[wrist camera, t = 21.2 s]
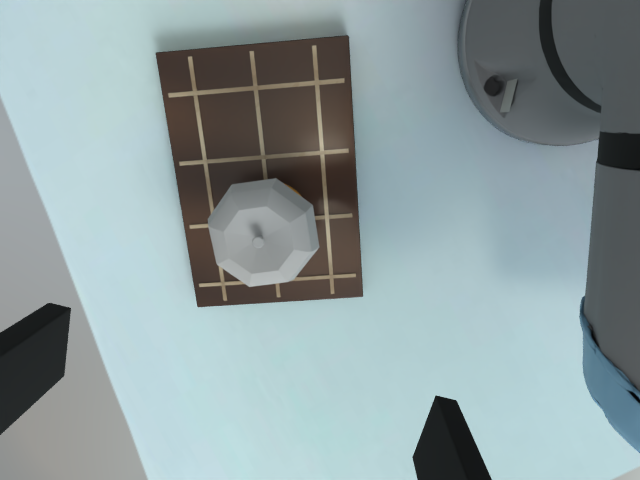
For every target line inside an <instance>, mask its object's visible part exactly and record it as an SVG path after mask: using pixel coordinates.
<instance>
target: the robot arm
mask: <svg viewBox="0 0 640 480" xmlns="http://www.w3.org/2000/svg"><path fill="white" fill-rule="evenodd" d="M458 58H459V65H460V70H461V75H462V79H463V82H464V84H465V87H466V90H467V92H468V94H469V96H470V98H471V100H472V101H473V103H474V105H475V106H476V108H477V109H478V110H479V112H480V113H481V114H482V115H483V116H484V117H485V118H486V119H487V120H488V121H489V122H490V123H491V124H492V125H493V126H495V127H496V128H497V129H499V130H500V131H502V132H504V133H505V134H507V135H509V136H511V137H514V138H516V139H518V140H522V141H525V142H528V143H534V144H542V145H554V146H567V145H576V144H581V143H586V142H590V141H593V140H597V139H599V146H598V158H597V161H596V172H595V184H594V196H593V209H592V221H591V233H590V246H589V258H588V270H587V282H586V293H585V296H584V297H582V300H581V304H580V316H579V317H580V323H581V327H582V331H583V373H584V378H585V382H586V385H587V388H588V390H589V392H590V394H591V396H592V399H593V400H594V401H595V402H596V403H597V405H598V406H599V407H600V408H601V409H602V410H603V411H604V414H605V416H606V418H607V419H608V421H609V423H610V424H611V425H612V427H613V428H614V429H615V430H616V431H617V432H618V433H619V434H620V435H621V436H622V437H623V438H624V439H625V440H626V441H627V442H628V443H629V444H630V445H631V446H632V447H633V448H634V449H636V450H637V451H638V452H639V453H640V0H467V1H466V4H465V7H464V10H463V14H462V18H461V22H460V28H459V36H458ZM70 312H71V308H69V307H64V306H61V305H56V304H52V303H48V304H46V305H45V306H43V307H41V308H40V309H38V310H36V311H35V312H33V313H32V314H30V315H28V316H27V317H25V318H23V319H22V320H21V321H19V322H17V323H15V324H14V325H12V326H11V327H9V328H7V329H6V330H4V331H2V332H1V333H0V435H1V434H2V433H3V432H4V431H5V430H6V429H7V428H8V427H9V426H10V425H11V424H12V423H14V422H15V421H16V420H17V419H18V418H19V417H20V416H21V415H22V414H23V413H24V412H25V411H27V410H28V409H29V408H30V407H31V406H32V405H33V404H34V403H35V402H36V401H38V400H39V399H40V398H41V397H42V396H43V395H44V394H45V393H46V392H47V391H48V390H49V389H50V388H52V387H53V386H54V385H55V384H56V383H57V382H58V381H59V380H60V379H61V378H62V377H63V376H64V373H65V362H66V352H67V343H68V332H69V321H70ZM413 462H414V466H415V470H416V474H417V478H418V480H492V479H491V477H490V475H489V472H488V470H487V468H486V466H485V463H484V461H483V459H482V457H481V454H480V452H479V450H478V448H477V445H476V443H475V441H474V439H473V437H472V434H471V432H470V430H469V428H468V425H467V423H466V421H465V419H464V416H463V414H462V412H461V410H460V407H459V405H458V403H457V401H456V400H453V399H448V398H444V397H440V396H435V399H434V402H433V404H432V407H431V410H430V412H429V415H428V418H427V420H426V423H425V426H424V428H423V431H422V434H421V436H420V439H419V442H418V444H417V447H416V450H415V452H414V455H413Z"/></svg>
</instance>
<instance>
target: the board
mask: <svg viewBox="0 0 640 480" xmlns="http://www.w3.org/2000/svg"><path fill="white" fill-rule="evenodd" d="M156 58H157V64H158V70H159V76H160V82H161V88H162V94H163V100H164V107H165V113H166V119H167V125H168V131H169V137H170V143H171V149H172V155H173V161H174V167H175V173H176V179H177V185H178V191H179V197H180V204H181V210H182V216H183V222H184V228H185V234H186V240H187V246H188V252H189V258H190V264H191V270H192V276H193V282H194V288H195V294H196V301H197V306H198V307H207V306H223V305H239V304H256V303H272V302H288V301H304V300H320V299H336V298H352V297H363V286H362V268H361V250H360V232H359V214H358V196H357V177H356V159H355V141H354V123H353V105H352V87H351V68H350V50H349V36H348V35H346V36H335V37H324V38H313V39H302V40H290V41H279V42H268V43H257V44H246V45H235V46H224V47H213V48H201V49H190V50H179V51H168V52H157V53H156ZM275 178H277V179H278V180H279V181H281V182H282V183H283V184H285V185H286V186H288V187H289V188H290V189H292V190H293V191H294V192H296V193H297V194H298V195H300V196H301V197H303V198H304V199H305V200H307V201H308V202H309V203H311V204H312V205H313V209H314V216H315V222H316V229H317V235H318V241H319V248H318V250H317V251H316V252H315V253H314V255H313V256H312V257H311V258H310V260H309V261H308V262H307V264H306V265H305V266H304V267H303V269H302V270H301V271H300V272H299V274H298V275H297V276H296V277H295V279H294V280H291V281H289V282H284V283H276V284H268V285H260V286H253V287H249V286H247V285H246V284H245V283H243V282H242V281H240V280H239V279H237V278H236V277H234V276H233V275H231V274H230V273H229V272H227V271H226V270H224V269H223V268H221V267H220V266H218V265H217V264H216V259H215V255H214V250H213V245H212V241H211V236H210V232H209V227H208V218H209V216H210V215H211V214H212V212H213V211H214V209H215V208H216V206H217V205H218V204H219V202H220V201H221V199H222V198H223V196H224V195H225V194H226V192H227V191H228V189H229V188H230V186H231V185H232V184H238V183H245V182H253V181H260V180H267V179H275Z"/></svg>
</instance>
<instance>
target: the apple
mask: <svg viewBox="0 0 640 480" xmlns="http://www.w3.org/2000/svg"><path fill="white" fill-rule="evenodd" d="M208 227H209V232H210V236H211V241H212V245H213V250H214V255H215V259H216V264H217V265H218V266H220V267H221V268H223V269H224V270H226V271H227V272H229V273H230V274H231V275H233V276H234V277H236V278H237V279H239V280H240V281H242V282H243V283H245V284H246V285H247V286H249V287H253V286H260V285H268V284H276V283H284V282H289V281H291V280H294V279H295V277H296V276H297V275H298V274H299V272H300V271H301V270H302V269H303V267H304V266H305V265H306V264H307V262H308V261H309V260H310V258H311V257H312V256H313V255H314V253H315V252H316V251H317V250H318V248H319V241H318V235H317V229H316V222H315V216H314V209H313V205H312V204H311V203H309V202H308V201H307V200H305V199H304V198H303V197H301V196H300V195H298V194H297V193H296V192H294V191H293V190H292V189H290V188H289V187H288V186H286V185H285V184H283V183H282V182H281V181H279V180H278V179H277V178H275V179H267V180H260V181H253V182H245V183H238V184H232V185H231V186H230V188H229V189H228V191H227V192H226V194H225V195H224V196H223V198H222V199H221V201H220V202H219V204H218V205H217V206H216V208H215V209H214V211H213V212H212V214H211V215H210V216H209V218H208Z"/></svg>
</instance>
